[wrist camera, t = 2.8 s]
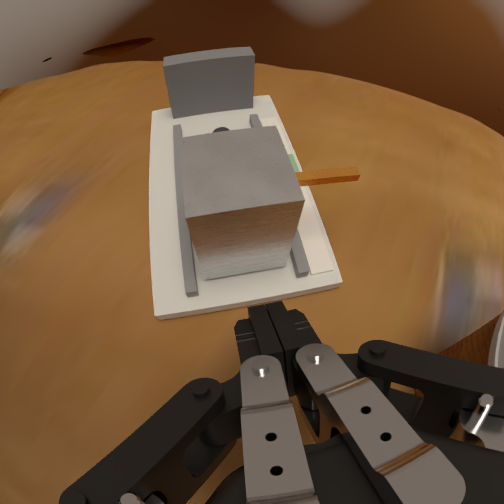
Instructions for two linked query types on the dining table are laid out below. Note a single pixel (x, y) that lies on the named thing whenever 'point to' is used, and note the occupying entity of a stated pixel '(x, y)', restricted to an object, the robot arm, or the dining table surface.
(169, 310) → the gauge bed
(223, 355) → the dining table surface
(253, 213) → the gauge carriage
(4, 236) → the dining table surface
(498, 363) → the disposable coffee cup
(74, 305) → the dining table surface
